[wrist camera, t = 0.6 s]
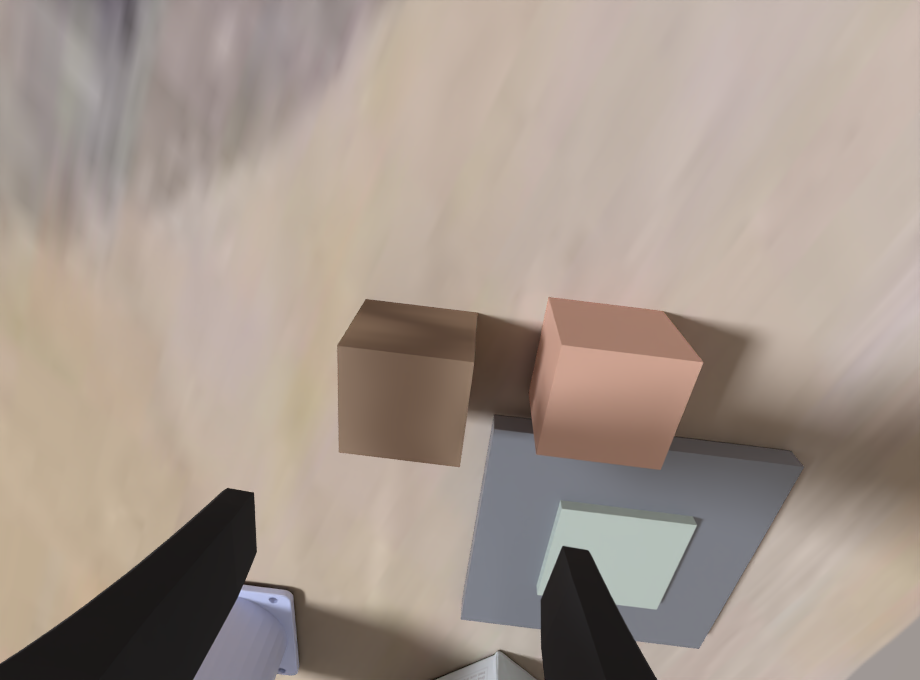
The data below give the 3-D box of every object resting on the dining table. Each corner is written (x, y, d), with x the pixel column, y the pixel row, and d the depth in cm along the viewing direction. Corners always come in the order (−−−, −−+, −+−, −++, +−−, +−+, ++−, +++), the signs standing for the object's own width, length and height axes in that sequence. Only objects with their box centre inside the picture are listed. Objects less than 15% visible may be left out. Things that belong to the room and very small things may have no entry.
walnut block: (364, 391, 21) (339, 452, 17) (366, 298, 19) (337, 345, 15) (465, 403, 21) (459, 467, 17) (477, 311, 19) (474, 362, 15)
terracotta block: (528, 391, 20) (536, 454, 17) (548, 296, 18) (561, 344, 15) (631, 404, 20) (660, 469, 17) (662, 310, 18) (703, 362, 15)
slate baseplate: (461, 602, 27) (460, 628, 25) (493, 414, 21) (494, 436, 19) (692, 630, 27) (702, 658, 25) (790, 451, 21) (811, 475, 19)
